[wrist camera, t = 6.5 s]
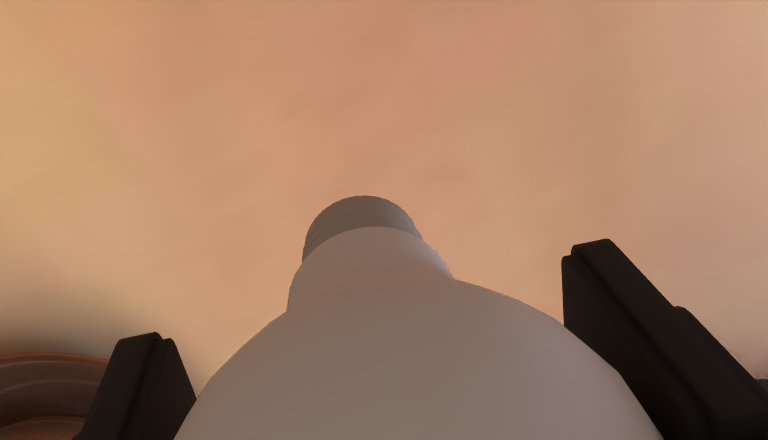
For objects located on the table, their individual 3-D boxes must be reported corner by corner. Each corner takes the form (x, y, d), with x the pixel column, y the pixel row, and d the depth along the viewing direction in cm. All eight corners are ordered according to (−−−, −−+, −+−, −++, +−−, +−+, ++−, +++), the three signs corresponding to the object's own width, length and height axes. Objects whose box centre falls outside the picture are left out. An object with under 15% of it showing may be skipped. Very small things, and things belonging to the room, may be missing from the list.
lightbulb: (225, 341, 16) (104, 1081, 6) (216, 93, 13) (-34, 684, 3) (470, 339, 16) (724, 980, 7) (509, 106, 14) (1020, 601, 4)
